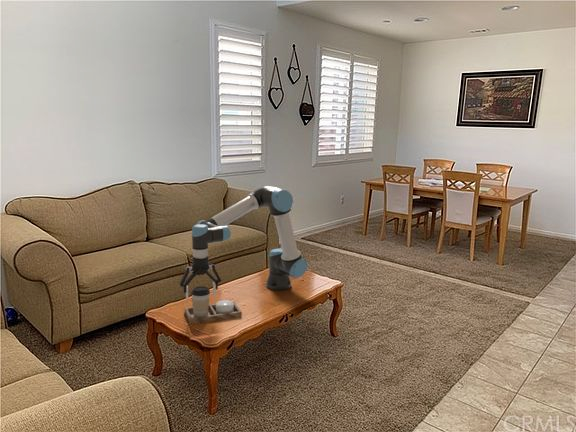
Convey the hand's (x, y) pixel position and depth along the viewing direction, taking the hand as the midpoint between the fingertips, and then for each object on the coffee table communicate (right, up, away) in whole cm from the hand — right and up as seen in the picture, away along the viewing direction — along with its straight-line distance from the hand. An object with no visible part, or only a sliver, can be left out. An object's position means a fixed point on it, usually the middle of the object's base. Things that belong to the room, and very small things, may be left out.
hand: (200, 297), depth 219 cm
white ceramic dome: (+11, -9, +7) cm, 16 cm away
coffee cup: (0, -10, +2) cm, 10 cm away
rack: (+5, -11, +5) cm, 13 cm away
